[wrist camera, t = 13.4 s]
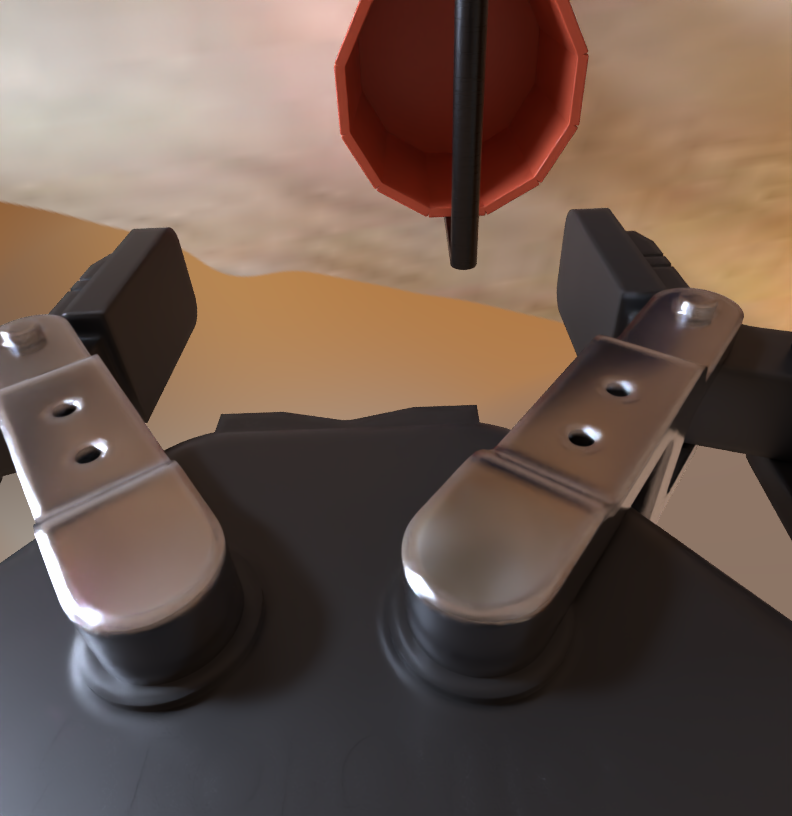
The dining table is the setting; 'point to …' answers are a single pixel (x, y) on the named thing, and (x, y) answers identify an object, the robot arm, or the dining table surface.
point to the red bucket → (459, 103)
